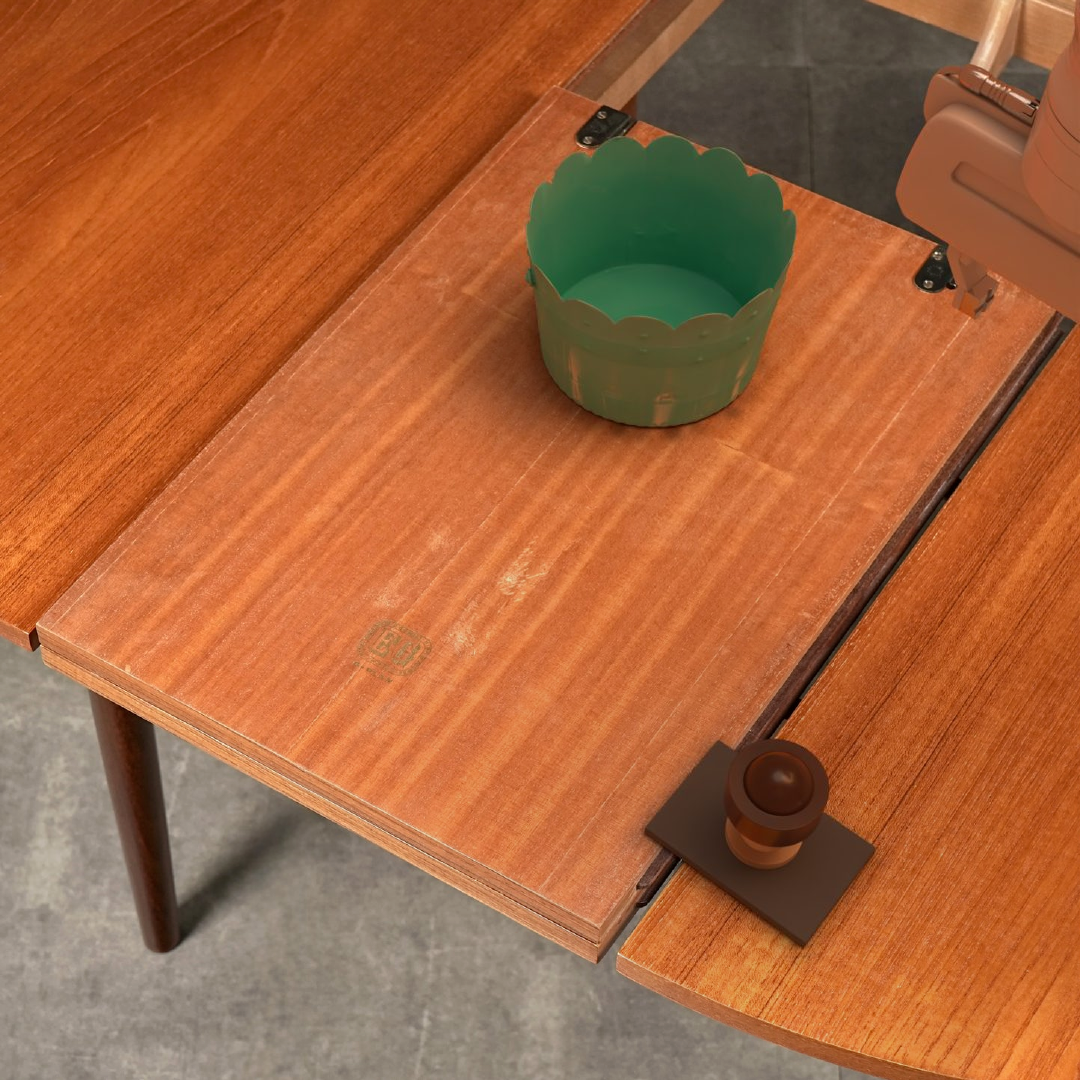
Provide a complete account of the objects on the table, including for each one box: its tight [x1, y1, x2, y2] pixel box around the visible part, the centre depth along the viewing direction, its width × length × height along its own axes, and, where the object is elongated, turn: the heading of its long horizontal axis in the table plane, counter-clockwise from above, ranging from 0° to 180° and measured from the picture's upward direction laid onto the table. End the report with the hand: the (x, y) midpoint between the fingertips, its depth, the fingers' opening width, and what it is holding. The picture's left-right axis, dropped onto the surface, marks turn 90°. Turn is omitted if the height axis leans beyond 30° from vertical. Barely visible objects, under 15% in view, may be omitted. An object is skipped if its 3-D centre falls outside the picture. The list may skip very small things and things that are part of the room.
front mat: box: [644, 739, 877, 948], centre depth 106 cm, size 12×8×1 cm, turn 52°
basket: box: [524, 134, 798, 428], centre depth 124 cm, size 19×18×13 cm
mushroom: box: [724, 738, 831, 869], centre depth 102 cm, size 6×6×8 cm
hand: (1045, 354), depth 89 cm, fingers open, 8 cm apart
